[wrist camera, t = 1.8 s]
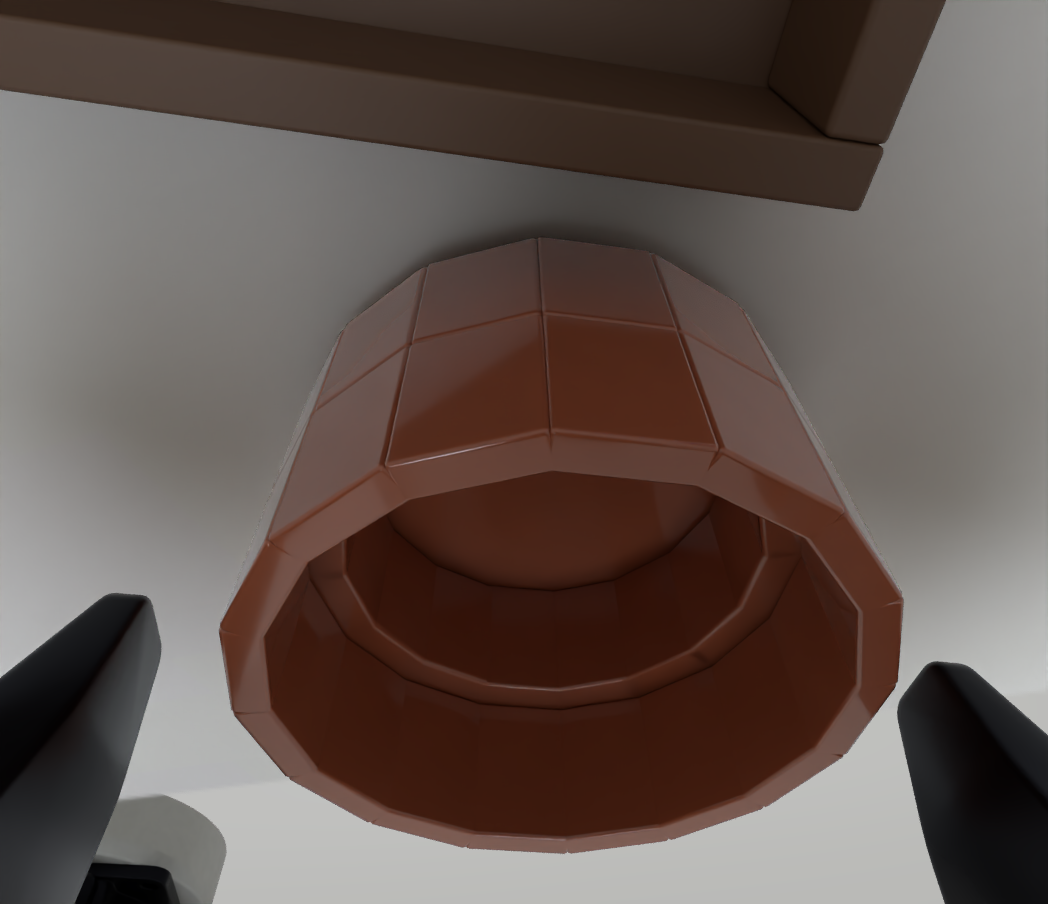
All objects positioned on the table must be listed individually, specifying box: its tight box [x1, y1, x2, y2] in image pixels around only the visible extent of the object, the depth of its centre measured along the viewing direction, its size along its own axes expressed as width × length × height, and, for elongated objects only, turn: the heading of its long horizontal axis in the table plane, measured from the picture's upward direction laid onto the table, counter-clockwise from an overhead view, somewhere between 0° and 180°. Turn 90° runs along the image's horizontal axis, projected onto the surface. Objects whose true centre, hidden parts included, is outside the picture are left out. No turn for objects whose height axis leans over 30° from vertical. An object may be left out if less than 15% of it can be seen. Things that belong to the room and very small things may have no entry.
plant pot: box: [219, 237, 904, 854], centre depth 10 cm, size 7×7×4 cm
